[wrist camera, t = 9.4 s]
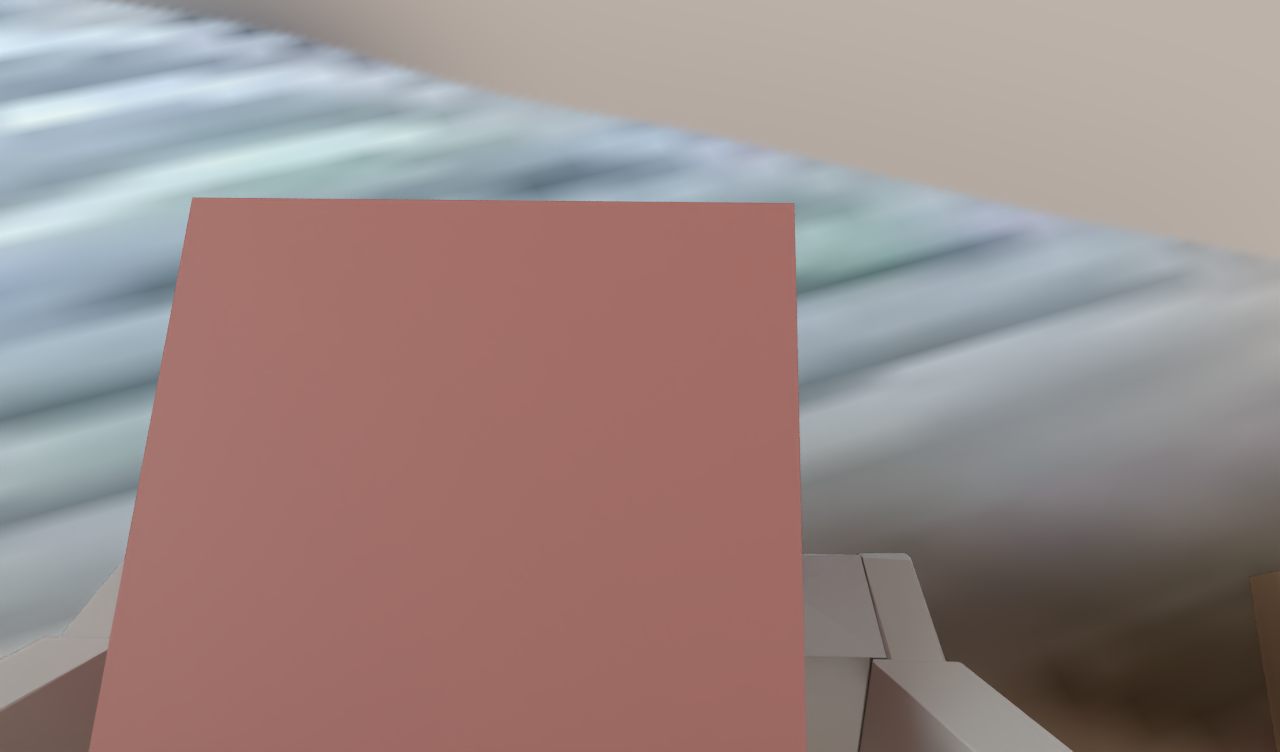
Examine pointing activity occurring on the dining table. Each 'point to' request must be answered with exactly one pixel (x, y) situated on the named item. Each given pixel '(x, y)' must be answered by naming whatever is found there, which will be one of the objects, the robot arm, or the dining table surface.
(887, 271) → the dining table surface
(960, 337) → the dining table surface
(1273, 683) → the tower base block
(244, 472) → the dusty red block
